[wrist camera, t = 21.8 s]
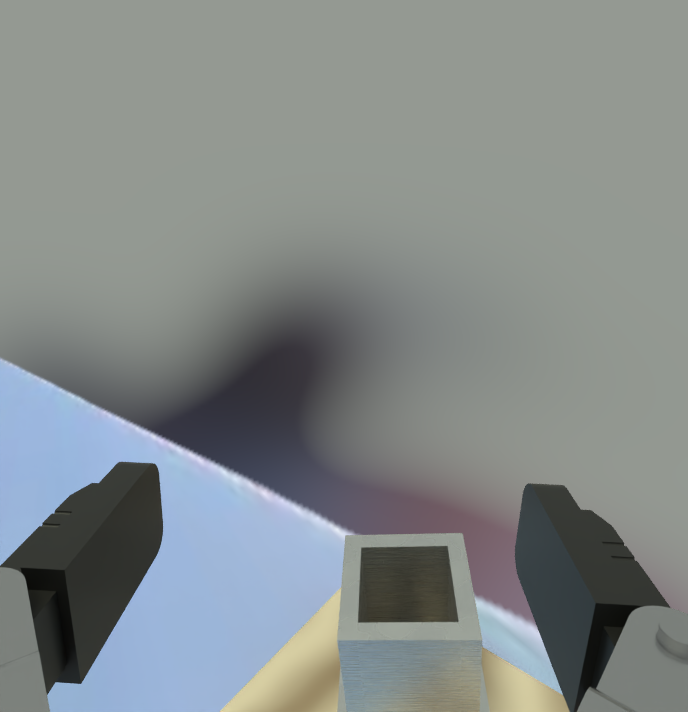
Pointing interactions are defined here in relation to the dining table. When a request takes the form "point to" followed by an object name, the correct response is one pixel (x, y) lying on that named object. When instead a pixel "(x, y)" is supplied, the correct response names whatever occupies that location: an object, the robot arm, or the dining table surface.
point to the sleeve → (409, 626)
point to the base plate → (322, 673)
